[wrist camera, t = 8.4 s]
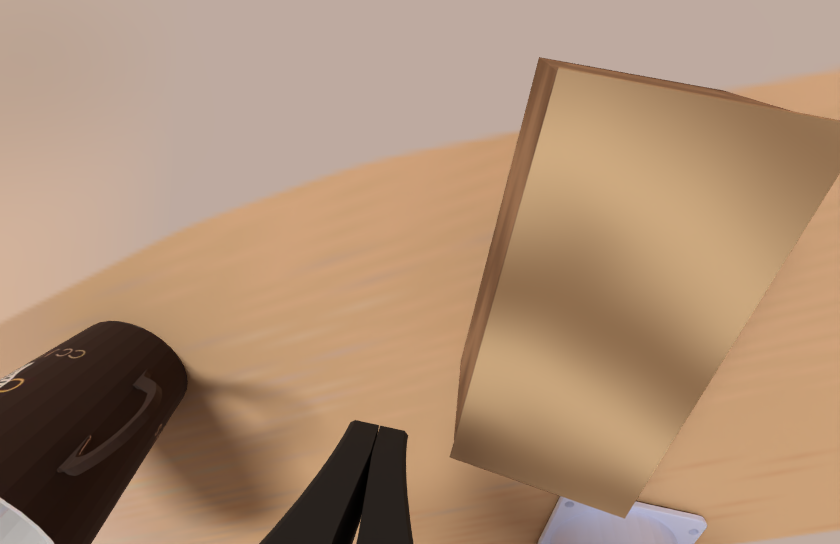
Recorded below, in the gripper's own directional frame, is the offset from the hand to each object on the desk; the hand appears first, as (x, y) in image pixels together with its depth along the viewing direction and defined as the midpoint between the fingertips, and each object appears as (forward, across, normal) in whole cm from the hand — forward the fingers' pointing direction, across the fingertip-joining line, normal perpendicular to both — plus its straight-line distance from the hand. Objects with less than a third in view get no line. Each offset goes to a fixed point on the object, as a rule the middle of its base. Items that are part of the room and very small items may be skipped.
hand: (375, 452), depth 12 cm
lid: (+5, -6, -2) cm, 8 cm away
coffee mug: (+11, +14, +10) cm, 20 cm away
